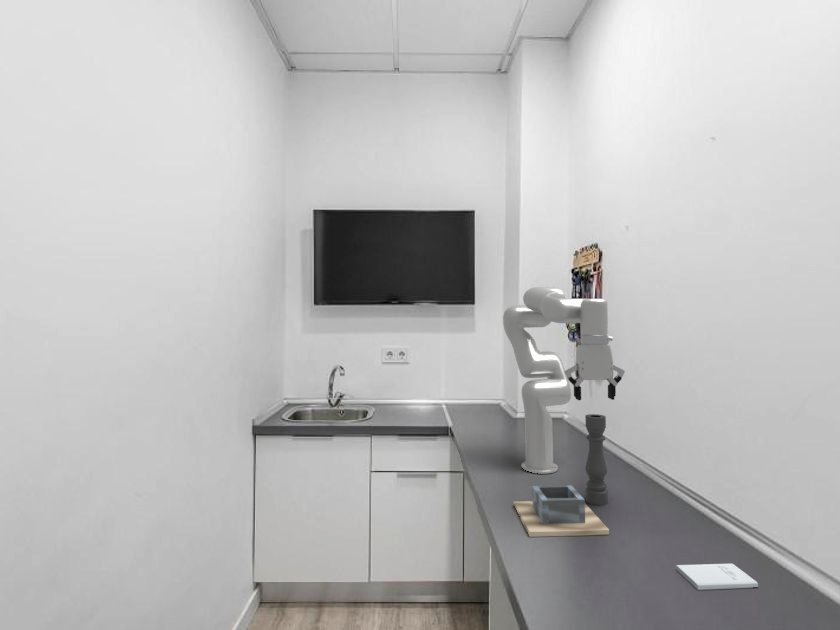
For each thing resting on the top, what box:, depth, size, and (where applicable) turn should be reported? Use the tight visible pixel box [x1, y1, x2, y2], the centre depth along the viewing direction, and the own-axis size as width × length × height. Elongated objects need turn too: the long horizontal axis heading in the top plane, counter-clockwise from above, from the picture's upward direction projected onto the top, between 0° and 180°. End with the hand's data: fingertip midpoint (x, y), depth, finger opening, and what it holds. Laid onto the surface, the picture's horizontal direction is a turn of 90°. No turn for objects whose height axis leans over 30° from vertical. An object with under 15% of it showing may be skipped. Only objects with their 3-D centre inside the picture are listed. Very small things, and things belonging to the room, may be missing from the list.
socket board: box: [512, 484, 610, 538], centre depth 135 cm, size 20×20×7 cm
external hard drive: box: [675, 563, 759, 591], centre depth 105 cm, size 2×8×12 cm
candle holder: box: [585, 413, 609, 506], centre depth 148 cm, size 6×6×25 cm
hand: (594, 399), depth 147 cm, fingers open, 9 cm apart
